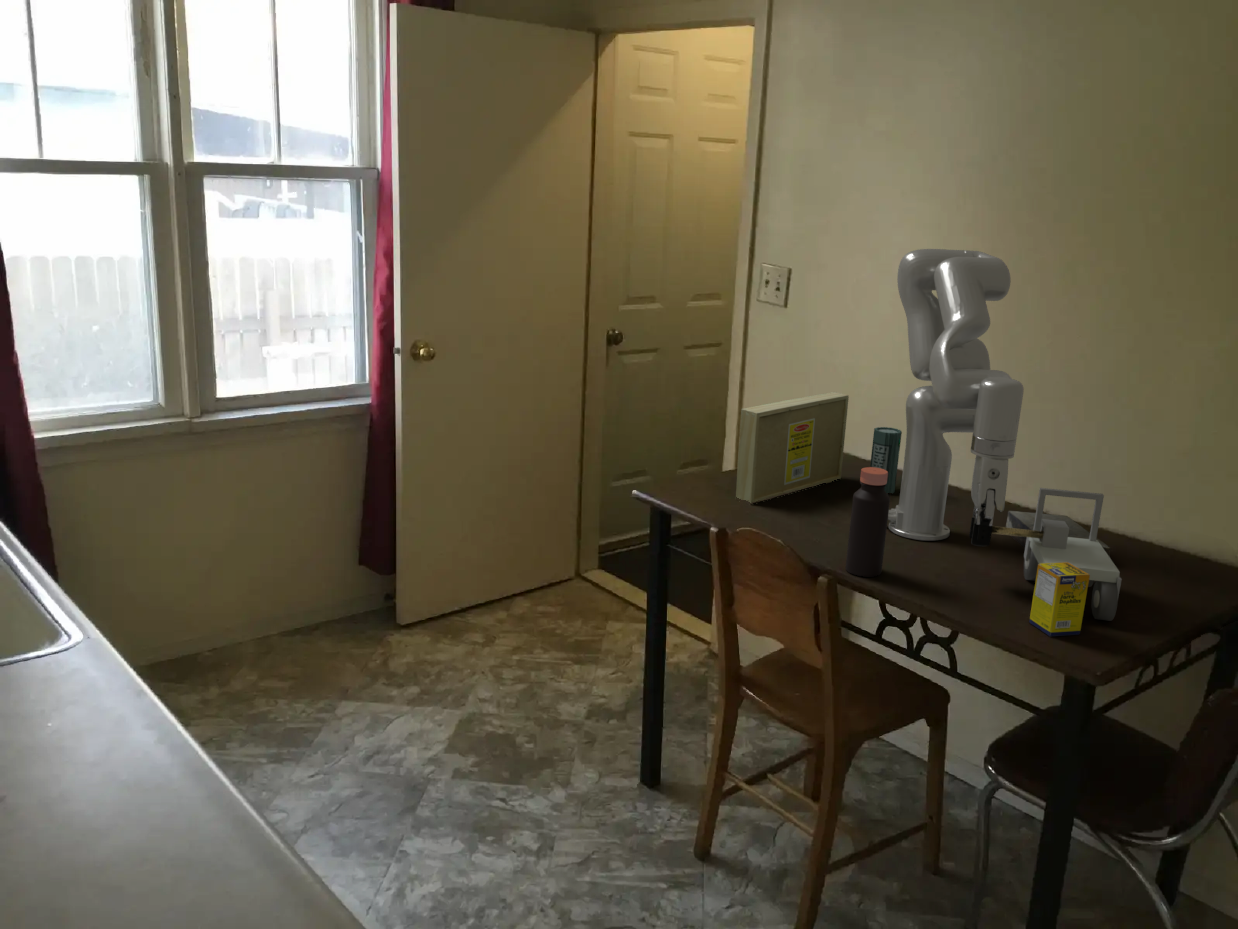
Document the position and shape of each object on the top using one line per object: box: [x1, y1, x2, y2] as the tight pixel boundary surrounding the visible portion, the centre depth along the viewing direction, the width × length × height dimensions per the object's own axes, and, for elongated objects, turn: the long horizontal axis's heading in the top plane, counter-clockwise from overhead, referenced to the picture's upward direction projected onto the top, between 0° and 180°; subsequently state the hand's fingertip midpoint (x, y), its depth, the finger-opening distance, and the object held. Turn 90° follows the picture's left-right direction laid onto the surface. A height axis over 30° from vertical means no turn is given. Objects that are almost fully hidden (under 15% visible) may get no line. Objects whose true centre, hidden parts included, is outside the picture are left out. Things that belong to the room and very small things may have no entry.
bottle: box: [845, 466, 891, 578], centre depth 196 cm, size 7×7×20 cm
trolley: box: [1023, 487, 1123, 622], centre depth 188 cm, size 13×23×18 cm, turn 168°
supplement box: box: [1028, 562, 1090, 637], centre depth 175 cm, size 6×6×11 cm
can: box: [869, 426, 903, 494], centre depth 250 cm, size 6×6×15 cm
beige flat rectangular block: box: [735, 391, 850, 503], centre depth 246 cm, size 35×5×22 cm, turn 133°
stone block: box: [1005, 510, 1112, 557], centre depth 217 cm, size 14×20×5 cm
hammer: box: [970, 511, 1044, 547], centre depth 192 cm, size 12×3×6 cm, turn 78°
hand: (979, 540), depth 194 cm, fingers closed on hammer, 2 cm apart
